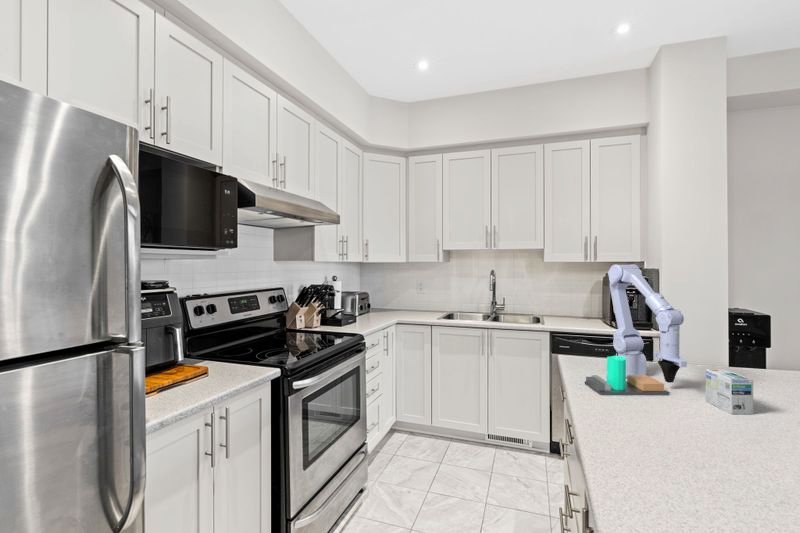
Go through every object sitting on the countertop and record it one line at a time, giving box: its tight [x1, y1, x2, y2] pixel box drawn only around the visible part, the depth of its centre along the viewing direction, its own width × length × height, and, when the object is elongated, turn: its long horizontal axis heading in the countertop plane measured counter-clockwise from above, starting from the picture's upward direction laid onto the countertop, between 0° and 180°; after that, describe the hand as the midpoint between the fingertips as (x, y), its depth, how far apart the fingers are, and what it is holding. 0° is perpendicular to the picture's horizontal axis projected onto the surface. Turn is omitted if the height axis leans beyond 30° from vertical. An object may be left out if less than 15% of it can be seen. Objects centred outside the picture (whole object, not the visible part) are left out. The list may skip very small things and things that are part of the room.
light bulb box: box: [705, 368, 754, 415], centre depth 122 cm, size 11×7×11 cm, turn 179°
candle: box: [606, 352, 627, 390], centre depth 139 cm, size 6×6×12 cm
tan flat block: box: [626, 374, 665, 391], centre depth 140 cm, size 7×10×2 cm
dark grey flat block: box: [584, 375, 670, 396], centre depth 140 cm, size 23×12×4 cm, turn 89°
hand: (669, 381), depth 139 cm, fingers closed
